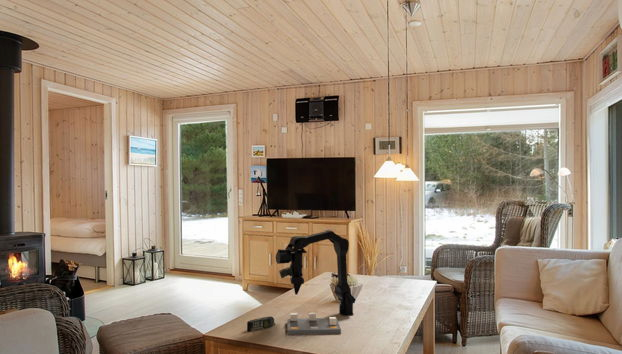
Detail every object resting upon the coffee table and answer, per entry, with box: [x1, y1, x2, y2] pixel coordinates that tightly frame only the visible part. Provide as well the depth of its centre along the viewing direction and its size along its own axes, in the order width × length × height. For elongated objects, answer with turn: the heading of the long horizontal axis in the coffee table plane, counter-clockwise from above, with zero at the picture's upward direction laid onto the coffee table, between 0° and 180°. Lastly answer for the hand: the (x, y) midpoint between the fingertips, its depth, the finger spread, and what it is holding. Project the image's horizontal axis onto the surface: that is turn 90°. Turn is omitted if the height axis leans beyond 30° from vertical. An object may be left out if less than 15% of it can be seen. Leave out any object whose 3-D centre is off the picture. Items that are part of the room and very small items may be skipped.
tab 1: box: [290, 312, 298, 321], centre depth 205 cm, size 3×2×3 cm
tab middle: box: [308, 312, 317, 321], centre depth 206 cm, size 3×2×3 cm
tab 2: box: [328, 316, 337, 325], centre depth 199 cm, size 3×2×3 cm
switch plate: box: [286, 317, 342, 336], centre depth 201 cm, size 24×16×2 cm, turn 94°
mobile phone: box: [246, 316, 276, 333], centre depth 200 cm, size 5×3×15 cm
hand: (296, 294), depth 210 cm, fingers closed
